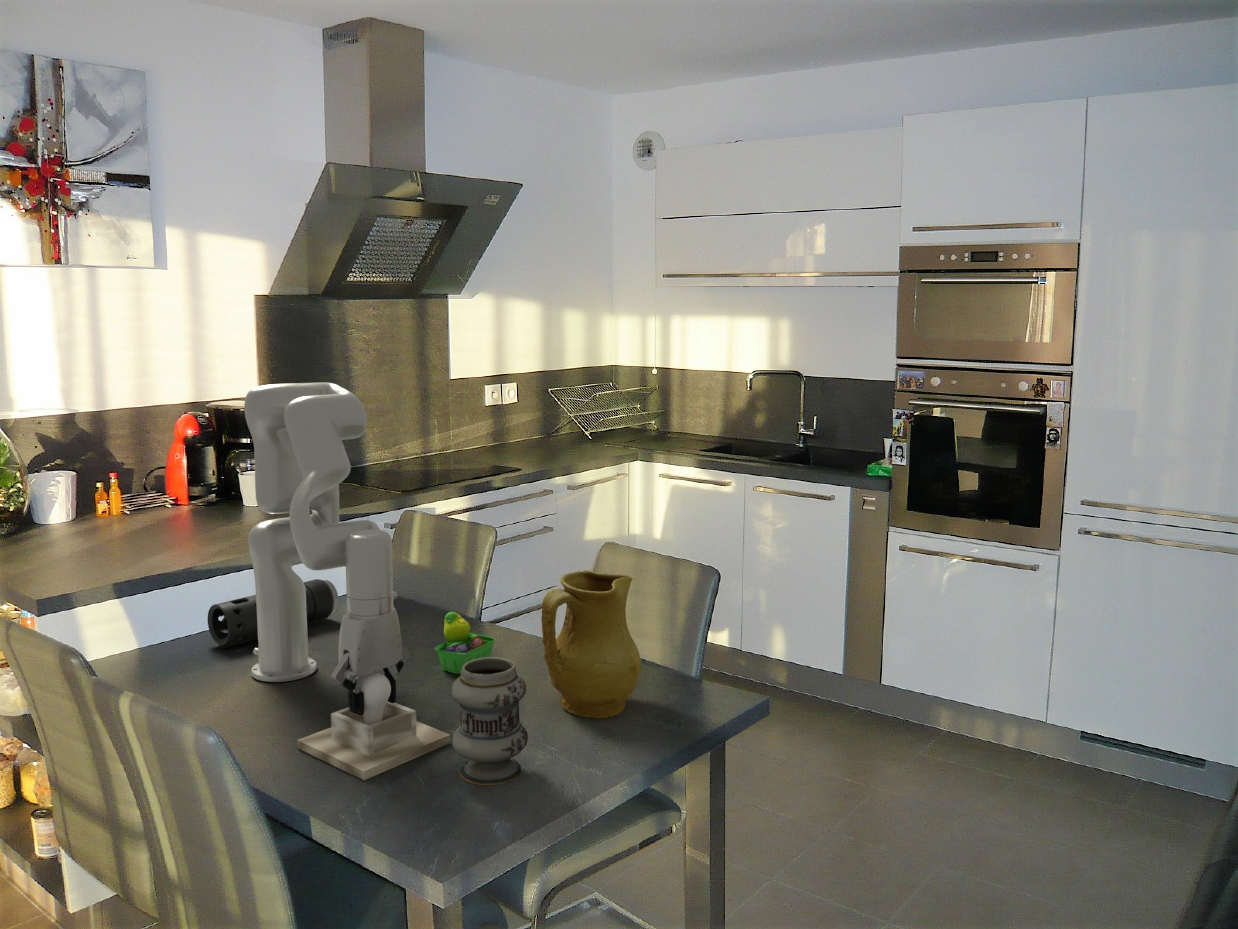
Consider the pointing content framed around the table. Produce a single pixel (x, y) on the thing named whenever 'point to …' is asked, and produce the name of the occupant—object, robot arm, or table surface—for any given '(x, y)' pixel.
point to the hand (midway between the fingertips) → (372, 706)
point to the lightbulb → (375, 696)
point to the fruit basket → (461, 644)
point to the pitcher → (591, 644)
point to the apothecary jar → (489, 720)
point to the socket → (373, 741)
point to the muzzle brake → (244, 613)
